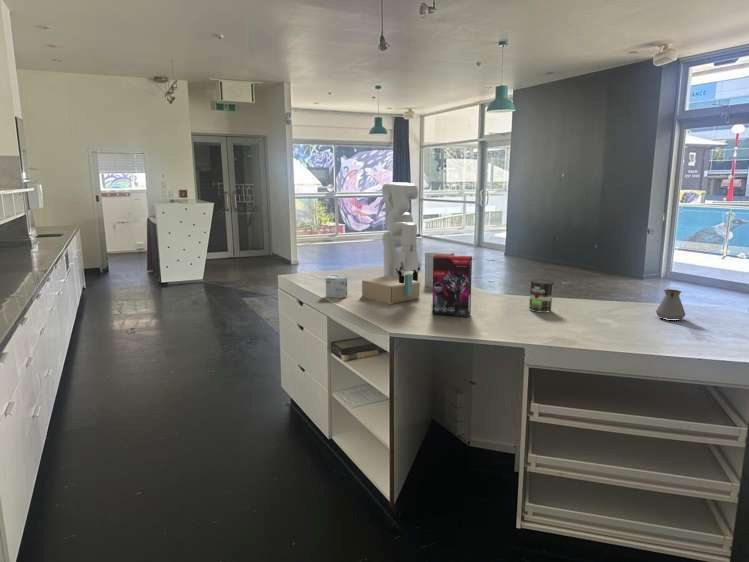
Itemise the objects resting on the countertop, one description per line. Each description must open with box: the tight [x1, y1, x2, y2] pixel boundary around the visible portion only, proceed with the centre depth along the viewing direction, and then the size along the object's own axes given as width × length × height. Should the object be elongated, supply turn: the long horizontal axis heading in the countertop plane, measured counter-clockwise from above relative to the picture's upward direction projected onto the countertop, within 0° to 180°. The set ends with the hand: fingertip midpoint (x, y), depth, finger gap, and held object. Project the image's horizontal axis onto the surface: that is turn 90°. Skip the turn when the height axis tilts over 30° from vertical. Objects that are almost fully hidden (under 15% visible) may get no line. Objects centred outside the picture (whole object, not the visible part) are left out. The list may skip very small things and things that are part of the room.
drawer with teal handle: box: [392, 273, 421, 302], centre depth 268 cm, size 19×24×13 cm
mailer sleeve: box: [361, 275, 419, 305], centre depth 270 cm, size 20×22×9 cm
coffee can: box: [528, 278, 554, 312], centre depth 243 cm, size 10×10×14 cm
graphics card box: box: [431, 254, 473, 318], centre depth 234 cm, size 17×7×27 cm, turn 70°
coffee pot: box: [655, 288, 686, 320], centre depth 224 cm, size 21×12×15 cm, turn 148°
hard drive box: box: [424, 251, 455, 288], centre depth 297 cm, size 16×8×20 cm, turn 58°
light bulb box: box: [325, 275, 348, 298], centre depth 272 cm, size 11×7×11 cm, turn 84°
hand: (408, 281), depth 259 cm, fingers open, 9 cm apart
